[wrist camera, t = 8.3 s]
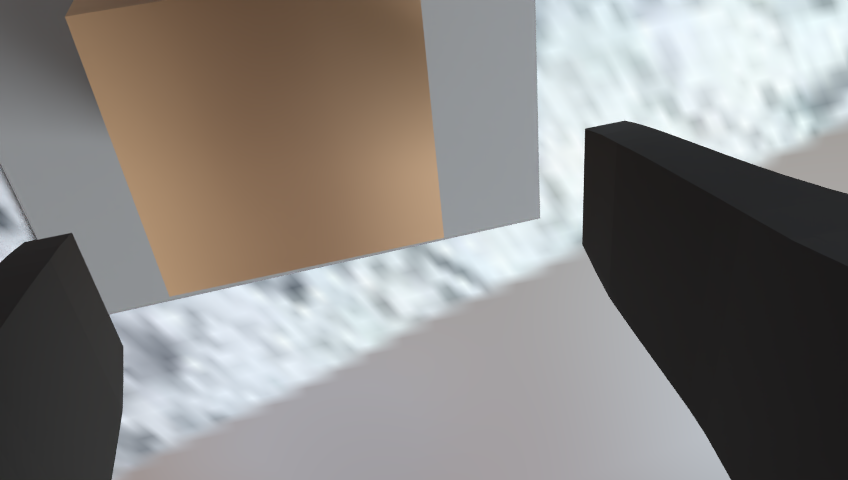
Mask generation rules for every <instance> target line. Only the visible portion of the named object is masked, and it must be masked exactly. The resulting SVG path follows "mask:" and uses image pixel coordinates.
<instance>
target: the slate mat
mask: <svg viewBox="0 0 848 480" xmlns="http://www.w3.org/2000/svg"><path fill="white" fill-rule="evenodd" d="M72 2H73V0H0V164H1V166H2V168H3V170H4V172H5V175H6V177H7V179H8V181H9V183H10V185H11V187H12V189H13V191H14V193H15V195H16V197H17V199H18V201H19V203H20V205H21V207H22V209H23V211H24V213H25V215H26V217H27V219H28V221H29V223H30V225H31V228H32V230H33V232H34V234H35V236H36V238H37V240H38V239H43V238H48V237H53V236H58V235H63V234H68V233H72V234H73V236H74V238H75V240H76V243H77V245H78V247H79V249H80V252H81V254H82V256H83V258H84V260H85V263H86V265H87V267H88V269H89V272H90V274H91V276H92V278H93V281H94V283H95V285H96V287H97V289H98V292H99V294H100V296H101V298H102V301H103V303H104V305H105V307H106V309H107V312H108V314H113V313H118V312H122V311H127V310H131V309H136V308H140V307H145V306H149V305H154V304H158V303H163V302H167V301H172V300H176V299H181V298H185V297H189V296H194V295H198V294H203V293H207V292H212V291H216V290H221V289H225V288H230V287H234V286H239V285H243V284H248V283H252V282H257V281H261V280H266V279H270V278H275V277H279V276H283V275H288V274H292V273H297V272H301V271H306V270H310V269H315V268H319V267H324V266H328V265H333V264H337V263H342V262H346V261H351V260H355V259H360V258H364V257H369V256H373V255H377V254H382V253H386V252H391V251H395V250H400V249H404V248H409V247H413V246H418V245H422V244H427V243H431V242H436V241H440V240H445V239H449V238H454V237H458V236H463V235H467V234H471V233H476V232H480V231H485V230H489V229H494V228H498V227H503V226H507V225H512V224H516V223H521V222H525V221H530V220H534V219H539V218H540V199H539V153H538V107H537V61H536V15H535V0H421V9H422V19H423V30H424V40H425V50H426V60H427V70H428V80H429V90H430V100H431V110H432V120H433V130H434V141H435V151H436V161H437V171H438V181H439V191H440V201H441V211H442V221H443V231H444V238H441V239H436V240H432V241H427V242H423V243H418V244H413V245H409V246H404V247H399V248H395V249H390V250H385V251H381V252H376V253H371V254H367V255H362V256H357V257H353V258H348V259H343V260H339V261H334V262H329V263H325V264H320V265H315V266H311V267H306V268H301V269H297V270H292V271H287V272H283V273H278V274H273V275H269V276H264V277H259V278H255V279H250V280H245V281H241V282H236V283H231V284H227V285H222V286H217V287H213V288H208V289H203V290H199V291H194V292H189V293H185V294H180V295H175V296H171V297H169V294H168V291H167V289H166V286H165V283H164V281H163V278H162V275H161V273H160V270H159V267H158V265H157V262H156V259H155V256H154V254H153V251H152V248H151V246H150V243H149V240H148V238H147V235H146V232H145V230H144V227H143V224H142V222H141V219H140V216H139V214H138V211H137V208H136V206H135V203H134V200H133V198H132V195H131V192H130V190H129V187H128V184H127V182H126V179H125V176H124V174H123V171H122V168H121V166H120V163H119V160H118V157H117V155H116V152H115V149H114V147H113V144H112V141H111V139H110V136H109V133H108V131H107V128H106V125H105V123H104V120H103V117H102V115H101V112H100V109H99V107H98V104H97V101H96V99H95V96H94V93H93V91H92V88H91V85H90V83H89V80H88V77H87V75H86V72H85V69H84V66H83V64H82V61H81V58H80V56H79V53H78V50H77V48H76V45H75V42H74V40H73V37H72V34H71V32H70V29H69V26H68V24H67V21H66V18H65V16H66V14H67V12H68V10H69V8H70V6H71V4H72Z"/></svg>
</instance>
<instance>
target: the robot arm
mask: <svg viewBox="0 0 848 480" xmlns="http://www.w3.org/2000/svg"><path fill="white" fill-rule="evenodd" d="M582 244H583V247H584V249H585V251H586V253H587V255H588V257H589V259H590V261H591V263H592V265H593V267H594V269H595V271H596V273H597V275H598V277H599V279H600V281H601V282H602V284H603V286H604V288H605V290H606V292H607V294H608V296H609V297H610V299H611V300H612V302H613V303H614V305H615V306H616V307H617V309H618V311H619V312H620V313H621V315H622V316H623V318H624V319H625V320H626V322H627V323H628V325H629V326H630V327H631V329H632V330H633V332H634V333H635V334H636V336H637V337H638V339H639V340H640V342H641V343H642V344H643V346H644V347H645V348H646V350H647V351H648V353H649V354H650V355H651V357H652V358H653V360H654V361H655V362H656V364H657V365H658V367H659V368H660V369H661V371H662V372H663V373H664V375H665V376H666V378H667V379H668V380H669V382H670V383H671V385H672V386H673V387H674V389H675V390H676V391H677V393H678V394H679V396H680V397H681V398H682V400H683V401H684V403H685V404H686V405H687V407H688V408H689V409H690V411H691V413H692V414H693V416H694V417H695V419H696V420H697V422H698V424H699V425H700V427H701V428H702V429H703V431H704V433H705V434H706V436H707V438H708V439H709V441H710V443H711V445H712V447H713V448H714V450H715V452H716V454H717V455H718V457H719V459H720V461H721V463H722V464H723V466H724V468H725V470H726V471H727V473H728V475H729V477H730V479H731V480H848V194H846V193H842V192H839V191H835V190H831V189H828V188H825V187H821V186H818V185H815V184H812V183H808V182H805V181H802V180H799V179H795V178H792V177H789V176H785V175H782V174H779V173H776V172H774V171H771V170H768V169H765V168H762V167H759V166H756V165H753V164H750V163H747V162H744V161H742V160H739V159H736V158H733V157H730V156H728V155H725V154H722V153H719V152H717V151H714V150H711V149H709V148H706V147H703V146H700V145H698V144H695V143H692V142H690V141H687V140H684V139H681V138H679V137H676V136H673V135H670V134H668V133H665V132H662V131H659V130H656V129H653V128H650V127H647V126H644V125H640V124H637V123H632V122H628V121H621V122H616V123H611V124H606V125H601V126H597V127H592V128H587V129H585V159H584V200H583V241H582ZM122 409H123V345H122V343H121V341H120V338H119V336H118V334H117V332H116V330H115V327H114V325H113V323H112V321H111V318H110V316H109V314H108V312H107V309H106V307H105V305H104V303H103V301H102V298H101V296H100V294H99V292H98V289H97V287H96V285H95V283H94V281H93V278H92V276H91V274H90V272H89V269H88V267H87V265H86V263H85V260H84V258H83V256H82V254H81V252H80V249H79V247H78V245H77V243H76V240H75V238H74V236H73V234H72V233H68V234H63V235H58V236H53V237H48V238H43V239H38V240H33V241H29V242H24V243H23V244H22V245H20V246H19V247H18V248H17V249H15V250H14V251H13V252H12V253H10V254H9V255H8V256H7V257H6V258H5V259H4V260H3V261H1V262H0V480H111V479H112V473H113V467H114V461H115V455H116V449H117V443H118V436H119V430H120V424H121V417H122Z"/></svg>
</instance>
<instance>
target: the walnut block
mask: <svg viewBox="0 0 848 480" xmlns="http://www.w3.org/2000/svg"><path fill="white" fill-rule="evenodd" d="M65 18H66V21H67V24H68V26H69V29H70V32H71V34H72V37H73V40H74V42H75V45H76V48H77V50H78V53H79V56H80V58H81V61H82V64H83V66H84V69H85V72H86V75H87V77H88V80H89V83H90V85H91V88H92V91H93V93H94V96H95V99H96V101H97V104H98V107H99V109H100V112H101V115H102V117H103V120H104V123H105V125H106V128H107V131H108V133H109V136H110V139H111V141H112V144H113V147H114V149H115V152H116V155H117V157H118V160H119V163H120V166H121V168H122V171H123V174H124V176H125V179H126V182H127V184H128V187H129V190H130V192H131V195H132V198H133V200H134V203H135V206H136V208H137V211H138V214H139V216H140V219H141V222H142V224H143V227H144V230H145V232H146V235H147V238H148V240H149V243H150V246H151V248H152V251H153V254H154V256H155V259H156V262H157V265H158V267H159V270H160V273H161V275H162V278H163V281H164V283H165V286H166V289H167V291H168V294H169V297H171V296H175V295H180V294H185V293H189V292H194V291H199V290H203V289H208V288H213V287H217V286H222V285H227V284H231V283H236V282H241V281H245V280H250V279H255V278H259V277H264V276H269V275H273V274H278V273H283V272H287V271H292V270H297V269H301V268H306V267H311V266H315V265H320V264H325V263H329V262H334V261H339V260H343V259H348V258H353V257H357V256H362V255H367V254H371V253H376V252H381V251H385V250H390V249H395V248H399V247H404V246H409V245H413V244H418V243H423V242H427V241H432V240H436V239H441V238H444V231H443V221H442V211H441V201H440V191H439V181H438V171H437V161H436V151H435V141H434V130H433V120H432V110H431V100H430V90H429V80H428V70H427V60H426V50H425V40H424V30H423V19H422V9H421V0H73V2H72V4H71V6H70V8H69V10H68V12H67V14H66V16H65Z"/></svg>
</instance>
